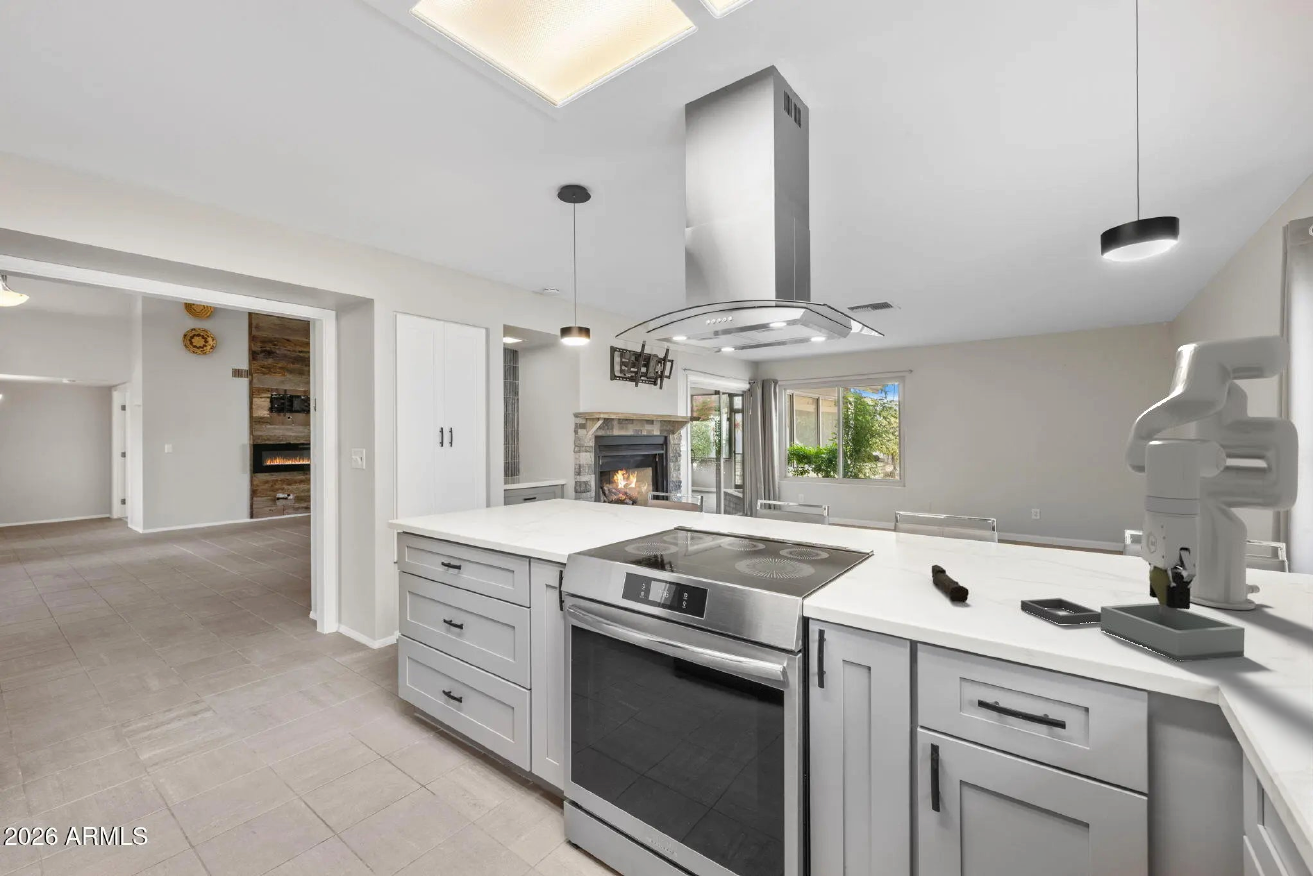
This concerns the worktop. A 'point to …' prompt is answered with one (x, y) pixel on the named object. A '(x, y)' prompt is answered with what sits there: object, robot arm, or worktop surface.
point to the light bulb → (1162, 590)
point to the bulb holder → (1079, 617)
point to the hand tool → (949, 585)
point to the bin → (1173, 632)
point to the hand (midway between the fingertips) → (1168, 601)
